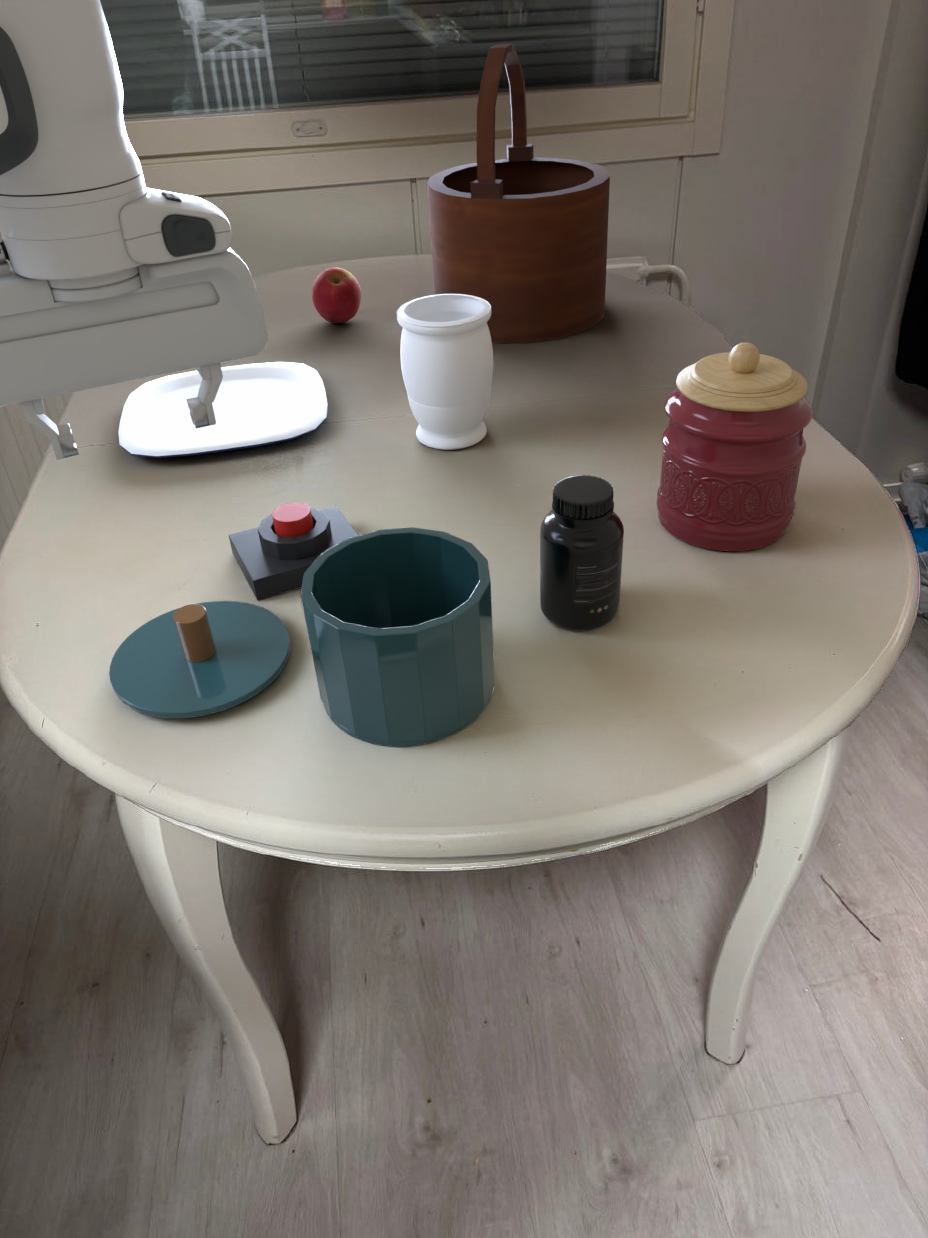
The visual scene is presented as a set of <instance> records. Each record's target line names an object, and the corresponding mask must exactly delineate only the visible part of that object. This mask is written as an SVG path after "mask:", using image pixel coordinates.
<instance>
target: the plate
mask: <svg viewBox="0 0 928 1238" xmlns="http://www.w3.org/2000/svg"><path fill="white" fill-rule="evenodd" d="M221 370H222V375H223V379H222V381H221V384H220V387H219V389H218V392H217V395H216V397H215V400H214V402H212V405H213V410H214V414H215V419H216V424H215V425H211V426H206V427H202V428H197V429H196V428H195V426H194V425H193V423H192V420H191V417H190V409H189V408H188V404H187V400H186V399H187V398H191V397H195V396H197V394H198V391H199V388H200V385H201V381H202V377H201V376H200V374H199V373H198V371H197V370H192V371H187V372H181V373H176V374H175V373H174V374H170V375H165V376H162V377H159V378H156V379H153V380H149V381H146V382H144V383H143V384H141V385H140V386H138V387H137V388H136V389H135V390H133V391H132V392H130V393H129V395H128V397H127V399H126V401H125V403H124V405H123V408H122V411H121V416H120V421H119V425H118V430H117V431H118V442H119V443H118V444H119V446H120V447H121V448H122V449H123V450H124V451H126V452H127V453H129V454H130V455H131V456H137V457H147V458H156V459H161V458H162V459H163V458H174V457H188V456H197V455H205V454H212V453H221V452H228V451H234V450H241V449H242V450H243V449H249V448H256V447H261V446H266V445H267V446H268V445H272V444H277V443H281V442H288V441H291V440H294V439H297V438H299V437H303V436H304V435H307V434H310V433H312V432H314V431H316V430H317V429H318V428H319V427H320V426H321V425H322V424H323V423H324V422H325V421H326V420H327V418H328V407H329V405H328V398H327V393H326V387H325V385H324V381H323V378H322V377H321V375H320V374H319V372H318V370H317V369H315V368H313V367H311V366H310V365H307V364H305V363H303V362H291V361H290V362H289V361H274V362H273V361H271V362H270V361H269V362H257V363H248V364H247V363H246V364H239V365H230V366H221Z"/></svg>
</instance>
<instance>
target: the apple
mask: <svg viewBox="0 0 928 1238" xmlns="http://www.w3.org/2000/svg"><path fill="white" fill-rule="evenodd" d="M311 301H312V304H313V307H314V308H315V310H316V312H317V313H318V314H319V316H321V318H323V319H324V320H325V321H326V322H328V323H331V324H343V323H347V322H348V321H350V320H352V319H353V318H354V317H355V316H356V315H357V313H358V312H359V309H360V306H361V302H362V290H361V285H360V283H359V280H357V277H355V275H353V274H352V273H351V272H350V271H349V270H348V269H347V270H346V269H345V268H342V267H337V266H334V267H329V268H326V269H325V270H323V271H322V272H320V273H319V274H318V275H317V276H316V278H315V280H314V281H313V284H312V288H311Z"/></svg>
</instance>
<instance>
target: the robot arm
mask: <svg viewBox="0 0 928 1238" xmlns="http://www.w3.org/2000/svg"><path fill="white" fill-rule="evenodd" d="M123 106H124V87H123V82H122V78H121V74H120V70H119V65H118V61H117V57H116V52H115V50H114V45H113V40H112V37H111V33H110V30H109V26H108V21H107V19H106V16H105V12H104V9H103V5H102V2H101V0H0V236H1V238H2V240H1V241H0V408H3V407H6V406H12V405H17V404H18V405H19V409H20V411H21V414H22V417H23V419H24V420H25V421H26V422H28V423H29V424H30V425H31V426H32V427H33V428H34V429H36V430H37V432H38V431H39V433H41V434H42V435H43V436H44V437H45V438H47V439H49V442H50V443H51V444H50V445H51V447H52V449H53V452H54V457H55V458H56V460H57V461H58V460H64V459H67V458H71V457H75V456H79V455H80V454H79V450H78V447H77V443H76V440H75V437H74V435H73V432H72V431H73V430H72V428H71V426H70V423H63V424H56V423H55V422H54V421H52V420H51V419H50V418H49V416H47V415H46V409H45V405H44V401H43V399H47V398H52V397H56V396H62V395H67V394H71V393H72V394H73V393H77V392H82V391H86V390H90V389H96V388H101V387H106V386H112V385H117V384H121V383H127V382H131V381H135V380H140V379H141V380H142V379H146V378H150V377H156V376H161V375H165V374H171V373H176V372H180V371H186V370H190V369H196V371H198V373H199V374H200V376H201V377H202V381H201V385H200V388H199V391H198V394H197V396H195V397H191V398H187V399H186V400H187V404H188V408H189V409H190V417H191V420H192V423H193V425H194V426H195V428H196V429H197V428H202V427H206V426H211V425H215V424H216V419H215V414H214V410H213V405H212V402H214V400H215V397H216V395H217V392H218V389H219V387H220V384H221V381H222V379H223V375H222V370H221V367H222V366H221V364H222V363H225V362H231V361H234V360H239V359H240V360H241V359H245V358H251V357H255V356H259V355H260V354H261V353H262V352H263V351H264V348H265V346H266V344H267V342H268V340H269V332H268V325H267V321H266V317H265V313H264V310H263V306H262V302H261V299H260V295H259V292H258V290H257V289H258V288H257V286H256V282H255V280H254V278H253V275H252V272H251V271H250V269H249V267H248V265H247V264H246V263H245V262H244V261H243V259H242V258H241V257H240V256H239V255H238V254H237V253H236V252H235V251H234V250H233V249H232V248H231V247H232V245H233V231H232V227H231V224H230V221H229V219H228V218H227V216H226V215H225V214H224V212H223V211H222V210H221V209H220V208H218V207H217V206H216V205H214V204H213V203H211V202H210V201H208V200H206V199H205V198H204V199H203V198H202V197H199V196H195V195H190V194H185V193H178V192H173V191H168V190H161V189H156V188H151V187H147V186H146V182H145V177H144V174H143V173H144V172H143V169H142V165H141V162H140V159H139V157H138V156H137V154H136V152H135V150H134V148H133V146H132V144H131V142H130V139H129V137H128V133H127V130H126V125H125V120H124V113H123V112H124V111H123V110H124V109H123V108H124V107H123ZM7 260H8V261H7ZM9 263H10V264H9Z"/></svg>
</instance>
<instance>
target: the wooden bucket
mask: <svg viewBox="0 0 928 1238" xmlns="http://www.w3.org/2000/svg"><path fill="white" fill-rule="evenodd" d="M521 63H522V62H521V61H520V58H519V55H518V53H517V51H516V48H515V45H514V43H513V42H511V43H495V44H493V45H492V46H490V47H489V48H488V52H487V56H486V60H485V64H484V67H483V72H482V76H481V80H480V84H479V85H480V86H479V91H478V92H479V93H478V98H477V105H476V162H471V163H465V164H461V165H456V166H453V167H450V168H446V169H444V170H440V171H439V172H436V173H435V174H433V175H432V176H430V177H429V178H428V180H427V182H426V190H427V205H428V220H429V233H430V249H431V262H432V264H431V265H432V276H433V290H434V295H437V294H465V295H471V296H476V297H479V298H482V299H484V300H486V301H487V302H489V304H490V305H491V317H490V319H489V320H488V321H487V325H488V328H489V331H490V336H491V341H492V343H499V344H525V343H529V344H530V343H531V344H532V343H538V342H545V341H553V340H560V339H563V338H566V337H569V336H570V337H571V336H573V335H577V334H580V333H583V332H584V331H586V330H588V329H590V328H593V327H594V326H596V325H598V323H599V322H600V321H601V320H602V319H603V317H604V316H605V311H606V287H607V286H606V285H607V263H608V262H607V261H608V260H607V259H608V236H609V212H610V211H609V208H610V186H611V185H610V184H611V180H610V179H611V174H610V170H609V169H608V168H605V167H603V166H602V165H600V164H598V163H593V162H589V161H585V160H578V159H568V158H561V157H535V156H534V155H535V154H534V143H528V119H527V99H526V81H525V78H524V71H523V67H522V64H521ZM504 68H505V72H506V77H507V80H508V81H507V82H508V87H509V102H510V118H511V144H506V158H501V159H496V107H497V99H498V93H499V85H500V79H501V76H502V73H503V69H504Z"/></svg>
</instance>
